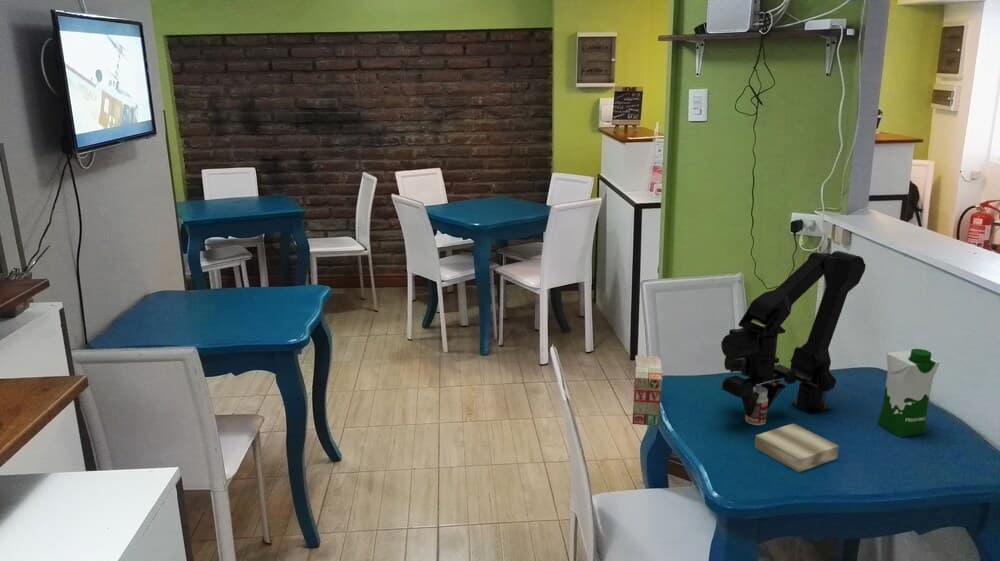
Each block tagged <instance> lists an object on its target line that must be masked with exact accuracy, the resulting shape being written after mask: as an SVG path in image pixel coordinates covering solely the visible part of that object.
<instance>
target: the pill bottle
mask: <svg viewBox="0 0 1000 561" xmlns="http://www.w3.org/2000/svg"><path fill="white" fill-rule="evenodd" d="M755 392H756V393H758V394H759V397H758V400H757V402H756V405H755V408H754V410H753V413H752V415H751V416H750V417H749V416H747V415H746V413H745V415H744V416H745V417H744V419H745V420H744V421H745V422H746V423H748V424H750V425H753V426H763V425H765V424H766V422H767V417H768V416H767V415H768V410H767V408H768V397H767V393H768V390H767V389H766V388H764V387H762V386H761V385H758V386H756V389H755ZM768 409H769V408H768Z"/></svg>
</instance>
